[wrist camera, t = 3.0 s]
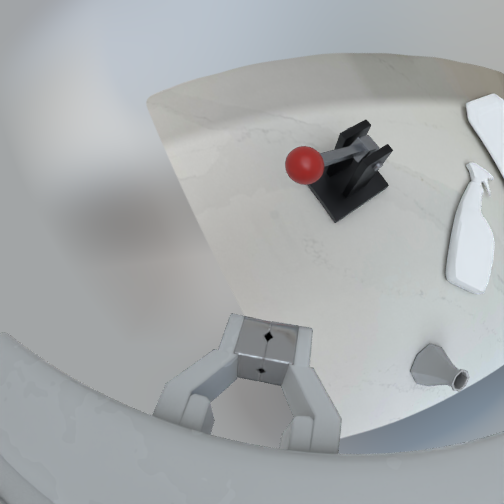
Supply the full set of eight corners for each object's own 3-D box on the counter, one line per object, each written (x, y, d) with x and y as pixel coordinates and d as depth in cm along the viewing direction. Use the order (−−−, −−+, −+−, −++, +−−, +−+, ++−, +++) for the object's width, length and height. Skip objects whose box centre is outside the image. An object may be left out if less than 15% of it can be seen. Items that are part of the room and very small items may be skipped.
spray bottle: (438, 278, 36) (455, 156, 39) (479, 298, 35) (492, 181, 37) (448, 277, 33) (463, 150, 36) (489, 298, 32) (500, 176, 34)
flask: (429, 335, 35) (463, 345, 25) (451, 357, 34) (485, 369, 24) (402, 372, 35) (432, 392, 25) (427, 392, 34) (456, 412, 24)
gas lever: (294, 196, 24) (313, 172, 21) (271, 167, 25) (288, 141, 22) (369, 166, 31) (386, 149, 28) (351, 145, 32) (367, 127, 29)
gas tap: (334, 223, 39) (357, 195, 27) (300, 176, 41) (306, 132, 28) (386, 188, 39) (419, 152, 27) (352, 145, 41) (373, 99, 28)
